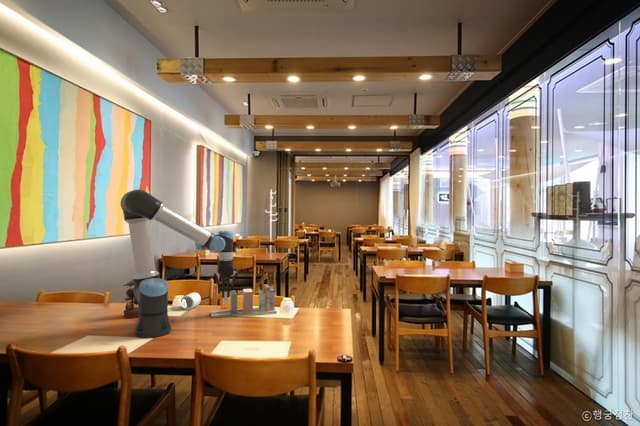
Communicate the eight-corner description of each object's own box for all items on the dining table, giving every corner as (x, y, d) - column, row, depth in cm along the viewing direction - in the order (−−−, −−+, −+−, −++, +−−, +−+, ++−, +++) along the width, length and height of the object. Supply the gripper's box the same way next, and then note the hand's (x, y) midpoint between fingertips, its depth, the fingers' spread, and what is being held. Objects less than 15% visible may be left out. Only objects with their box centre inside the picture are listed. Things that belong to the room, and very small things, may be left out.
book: (252, 312, 200) (252, 291, 201) (244, 313, 199) (244, 292, 199) (251, 308, 209) (251, 288, 209) (242, 309, 208) (242, 289, 208)
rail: (276, 313, 203) (276, 287, 203) (211, 318, 193) (211, 290, 194) (273, 308, 214) (273, 283, 214) (211, 312, 204) (211, 286, 204)
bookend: (237, 313, 198) (237, 294, 198) (231, 313, 197) (231, 294, 197) (236, 309, 207) (236, 291, 207) (230, 309, 206) (230, 291, 206)
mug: (201, 306, 220) (201, 292, 220) (193, 310, 210) (193, 296, 210) (181, 305, 221) (181, 291, 221) (173, 309, 211) (173, 295, 211)
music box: (137, 319, 189) (134, 280, 190) (117, 320, 191) (114, 281, 191) (154, 312, 204) (151, 275, 205) (135, 313, 206) (133, 276, 206)
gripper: (237, 258, 207) (237, 301, 206) (213, 259, 203) (212, 303, 203) (238, 260, 199) (238, 304, 199) (213, 260, 196) (213, 306, 196)
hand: (225, 303), depth 201 cm, fingers closed
